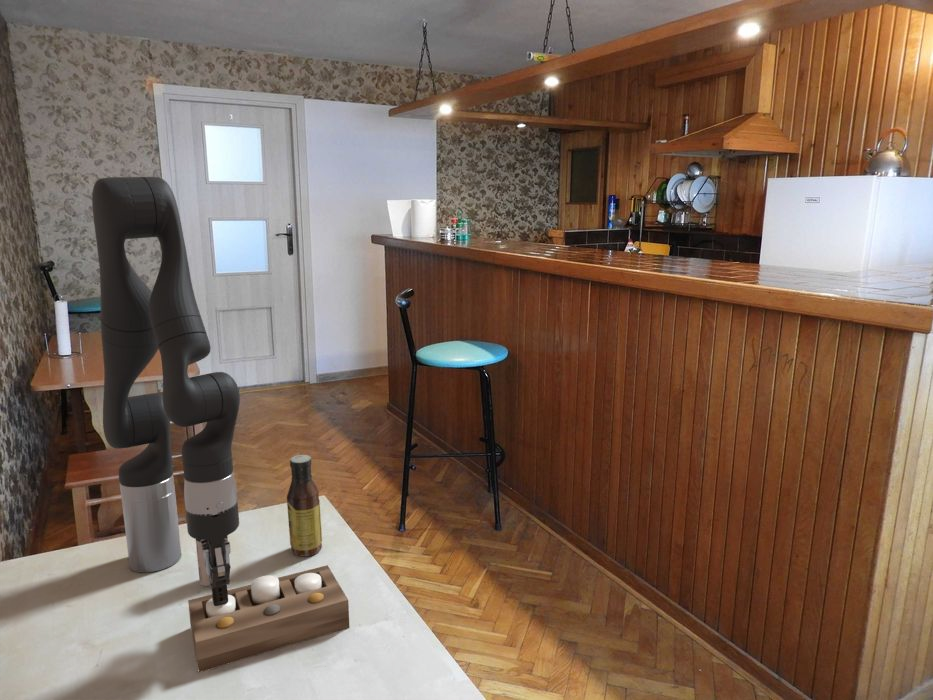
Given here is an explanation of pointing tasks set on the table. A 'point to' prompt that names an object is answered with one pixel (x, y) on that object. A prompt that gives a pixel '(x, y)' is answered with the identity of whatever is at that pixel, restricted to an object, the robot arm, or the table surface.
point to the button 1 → (220, 607)
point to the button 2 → (265, 590)
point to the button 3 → (307, 583)
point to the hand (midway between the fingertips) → (220, 602)
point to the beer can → (202, 566)
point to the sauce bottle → (303, 509)
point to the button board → (267, 620)
